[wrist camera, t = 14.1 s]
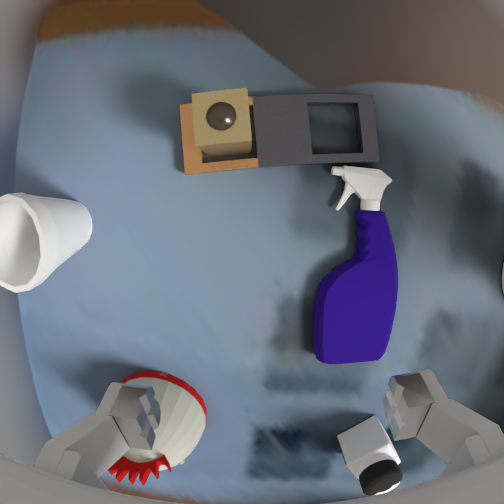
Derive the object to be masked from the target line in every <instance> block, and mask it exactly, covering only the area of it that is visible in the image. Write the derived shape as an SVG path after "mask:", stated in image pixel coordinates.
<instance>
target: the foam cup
mask: <svg viewBox="0 0 504 504" xmlns="http://www.w3.org/2000/svg"><path fill="white" fill-rule="evenodd" d="M91 233H92V218H91V216H90V214H89V211H88V209H87V208H86V207H85V206H84V205H83V204H82V203H80V202H77V201H73V200H68V199H59V198H50V197H41V196H33V195H29V194H25V193H22V192H20V193H12V194H6V195H4V196H1V197H0V285H1V286H2V287H4V288H6V289H8V290H11V291H13V292H15V293H17V292H22V291H28V290H31V289H32V288H34V287H36V286H38V285H39V284H41V283H43V281H44V280H45V279H46V278H47V277H48V276H49V275H50V274H51V273H52V272H53V271H54V270H55V269H56V268H57V267H58V266H60V265H61V264H62V263H63V262H64V261H66V260H67V259H68V258H69V257H71V256H72V255H73V254H74V253H75V252H77V251H78V250H79V249H80V248H81V247H83V246H84V245H85V244H86V243H87V242H88V241H89V238H90V236H91Z"/></svg>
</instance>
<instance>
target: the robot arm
mask: <svg viewBox="0 0 504 504" xmlns="http://www.w3.org/2000/svg"><path fill="white" fill-rule="evenodd" d="M502 288H503V293H504V264H503V271H502ZM388 385H389V388H390V389H389V390H388V391H387V392H386V393H385V397H384V411H385V414H386V417H387V418H388V419H389V420H391V421H392V422H391V425H390V429H391V432H392V435H393V438H394V440H395V441H396V440H401V439H406V438H411V437H416V436H417V437H416V438H417V439H418V440H419V441H421V442H422V443H423V444H424V445H425V446H426V447H428V448H429V449H430V450H431V451H432V452H434V453H435V454H436V455H437V456H438V457H439V458H441V459H442V460H443V461H444V462H445V463H447V464H448V465H447V467H446V468H445V470H444V471H443V472H442V474H441V475H440V477H439V479H435V480H432V481H429V482H426V483H422V484H419V485H415V486H412V487H408V488H404V489H400V490H396V491H392V492H387V493H383V494H378V495H373V496H368V497H363V498H357V499H351V500H345V501H338V502H330V503H322V504H504V434H503V432H502V431H501V429H500V427H499V425H498V424H496V423H494V422H492V421H490V420H489V419H487V418H485V417H483V416H481V415H480V414H478V413H476V412H474V411H473V410H471V409H469V408H467V407H465V406H464V405H462V404H460V403H458V402H457V401H455V400H453V399H448V398H447V396H446V394H445V392H444V391H443V389H442V387H441V385H440V384H439V382H438V380H437V378H436V377H435V375H434V373H433V372H432V370H430V369H428V370H423V371H418V372H412V373H407V374H402V375H396V376H392V377H391V378H390V380H389V383H388ZM154 396H155V392H154V389H153V387H151V386H143V385H134V384H126V383H125V384H124V383H116V382H112V383H111V384H110V385H109V387H108V389H107V391H106V393H105V395H104V397H103V399H102V401H101V403H100V405H99V407H98V409H97V411H96V413H91V414H90V415H88V416H86V417H85V418H83V419H82V420H80V421H79V422H77V423H76V424H74V425H72V426H71V427H69V428H68V429H66V430H65V431H63V432H61V433H60V434H58V435H57V436H55V437H54V438H52V439H50V440H49V441H47V442H46V444H45V445H44V447H43V449H42V451H41V453H40V455H39V457H38V459H37V461H36V463H35V465H34V467H33V466H30V465H28V464H25V463H23V462H20V461H18V460H16V459H14V458H11V457H9V456H7V455H5V454H3V453H0V504H183V503H174V502H167V501H160V500H154V499H148V498H142V497H137V496H131V495H127V494H122V493H117V492H113V491H109V490H108V488H107V487H106V485H105V484H104V483H103V482H102V481H101V480H100V478H99V477H100V476H101V475H102V474H103V473H104V472H105V471H107V470H108V469H109V468H110V467H111V466H112V465H113V464H114V463H115V462H116V461H117V460H118V459H120V458H121V457H122V456H123V455H124V454H125V453H126V452H127V451H128V450H129V449H130V448H138V449H146V450H152V448H153V444H154V441H155V437H156V435H155V433H154V430H155V429H156V428H157V427H159V424H160V419H161V410H160V405H159V403H158V401H156V400H155V399H154ZM129 447H130V448H129Z"/></svg>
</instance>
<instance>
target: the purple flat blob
mask: <svg viewBox="0 0 504 504" xmlns="http://www.w3.org/2000/svg"><path fill="white" fill-rule="evenodd" d="M331 174H332V175H337V176H342V179H343V180H344V181H345V187H344V191H343V194H342V196H341V199H340V201H339V203H338V205H337V207H336V208H335V209H336V210H337V211H338V210H339V209H340V208H341V207H342V206H343V204H344V203H345V202H346V200H347V199H348V198H349V196H350V195H351V194H352V193H355V194H356V195H357V196H358V197H359V199H361V205H360V209H361V210H358V211H356V212H355V213H354V214H355V217H356V220H357V222H358V224H359V226H358V229H357V232H356V234H357V236H358V239H359V240H358V242H357V244H356V247H357V251H356V253H355V255H354V256H353V258H351V259H349V260H348V261H346V262H344V263H342V264H341V265H339V266H337V267H335V268H334V269H333V270H332V271H331V272H330V273H329V274H328V275H327V276H326V277H324V278H323V279H322V281H321V283H320V284H319V286H318V288H317V292H316V298H315V304H314V351H315V355H316V358H317V359H318V360H319V361H321V362H323V363H327V364H344V363H355V362H365V361H374V360H379V359H380V358H381V357H382V356H383V354H384V353H385V350H386V347H387V345H388V342H389V339H390V334H391V330H392V325H393V320H394V315H395V310H396V301H397V291H398V269H397V261H396V255H395V250H394V245H393V241H392V237H391V233H390V230H389V226H388V223H387V219H386V216H385V212H382V211H380V200H381V199H382V195H383V191H384V190H385V188H386V186H387V185H388V184H390V183H391V182H392V179H391V178H390V177H388V176H387V175H386V174H385V173H384V172H383V171H381V170H380V169H371V168H362V167H352V166H342V167H335V166H332V169H331Z"/></svg>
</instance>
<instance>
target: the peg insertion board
mask: <svg viewBox="0 0 504 504" xmlns="http://www.w3.org/2000/svg"><path fill="white" fill-rule="evenodd" d="M248 102H249V108H253V117H254V128H255V139H256V150H257V158H251V159H239V160H229V161H219V162H210V163H204V158H203V151H202V150H200V149H199V148H197V147H196V146H195V135H194V122H193V108H192V103H188V104H182V105H180V118H181V132H182V145H183V157H184V168H185V175H190V174H198V173H207V172H216V171H226V170H237V169H248V168H260V167H273V166H288V165H305V164H326V163H358V162H380V157H379V146H378V135H377V126H376V117H375V109H374V102H373V95H355V94H290V95H269V96H253V97H248ZM308 105H354V110H355V118H356V127H357V137H358V147H359V153H344V154H314V155H312V144H311V133H310V123H309V114H308Z"/></svg>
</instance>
